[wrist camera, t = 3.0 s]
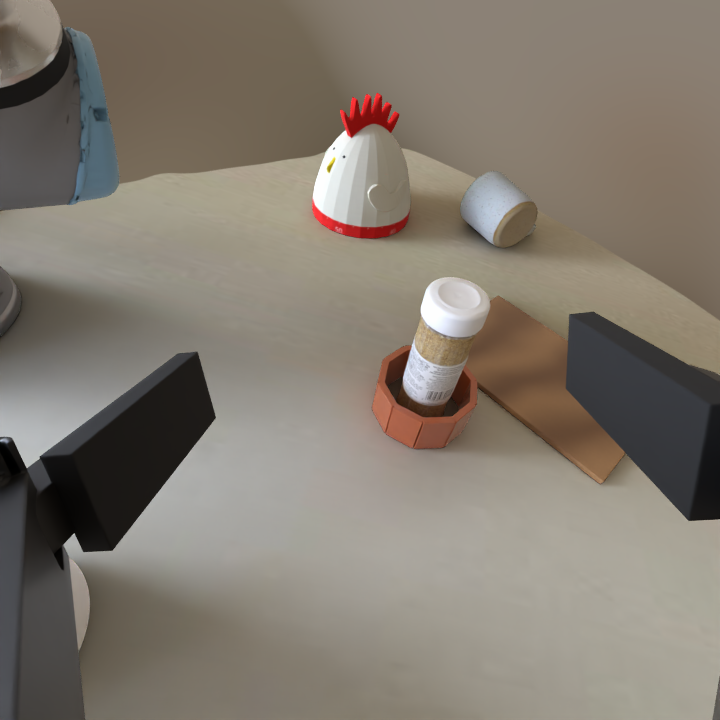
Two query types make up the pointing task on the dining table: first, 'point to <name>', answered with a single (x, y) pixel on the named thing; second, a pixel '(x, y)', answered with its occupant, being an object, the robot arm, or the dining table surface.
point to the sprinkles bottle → (442, 344)
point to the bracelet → (412, 425)
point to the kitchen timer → (364, 176)
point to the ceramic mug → (498, 209)
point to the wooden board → (538, 386)
